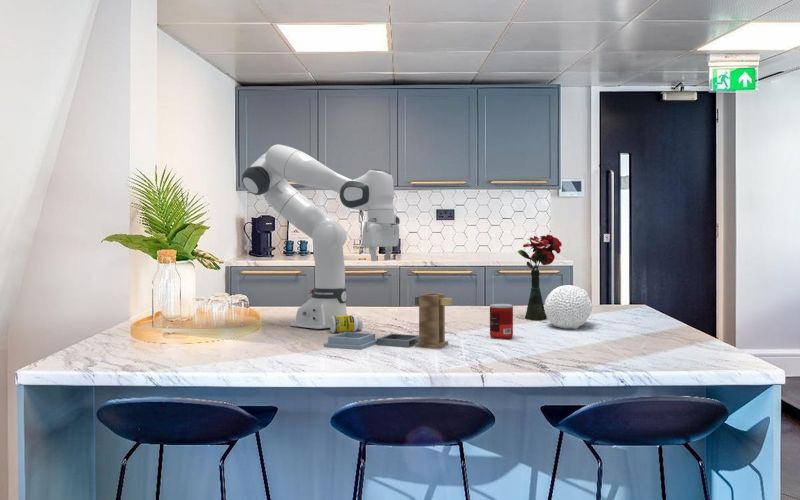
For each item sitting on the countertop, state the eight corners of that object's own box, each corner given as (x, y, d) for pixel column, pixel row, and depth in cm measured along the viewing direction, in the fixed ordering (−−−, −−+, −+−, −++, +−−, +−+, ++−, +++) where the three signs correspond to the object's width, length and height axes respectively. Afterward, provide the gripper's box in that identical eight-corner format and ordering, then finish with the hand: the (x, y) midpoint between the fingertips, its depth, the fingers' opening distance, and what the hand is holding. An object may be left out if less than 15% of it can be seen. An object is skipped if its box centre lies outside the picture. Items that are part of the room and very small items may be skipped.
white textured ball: (583, 334, 212) (583, 287, 212) (535, 330, 221) (535, 285, 221) (598, 327, 229) (598, 283, 228) (552, 323, 238) (552, 282, 238)
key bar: (414, 305, 190) (414, 296, 190) (419, 303, 194) (419, 295, 194) (448, 306, 186) (448, 298, 186) (452, 305, 189) (452, 296, 189)
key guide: (415, 346, 188) (415, 295, 188) (424, 342, 195) (424, 293, 195) (439, 348, 185) (439, 296, 185) (448, 344, 192) (448, 293, 192)
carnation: (509, 320, 248) (509, 234, 248) (550, 318, 252) (550, 234, 252) (525, 325, 233) (525, 234, 232) (569, 324, 237) (569, 234, 237)
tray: (323, 346, 189) (323, 337, 189) (343, 340, 201) (343, 331, 201) (361, 349, 184) (361, 339, 184) (379, 342, 196) (379, 333, 196)
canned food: (515, 336, 208) (515, 304, 208) (509, 339, 201) (509, 306, 200) (493, 334, 211) (493, 303, 211) (487, 338, 204) (486, 305, 204)
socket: (376, 345, 192) (376, 338, 192) (391, 339, 202) (391, 333, 202) (409, 347, 187) (409, 340, 187) (422, 341, 197) (422, 335, 197)
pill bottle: (332, 314, 214) (362, 313, 217) (328, 317, 219) (358, 316, 223) (333, 332, 212) (364, 330, 216) (330, 334, 218) (360, 333, 221)
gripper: (374, 217, 189) (375, 262, 189) (402, 219, 208) (402, 259, 208) (357, 218, 192) (357, 261, 192) (385, 219, 210) (386, 259, 211)
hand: (381, 260), depth 200 cm, fingers open, 8 cm apart
